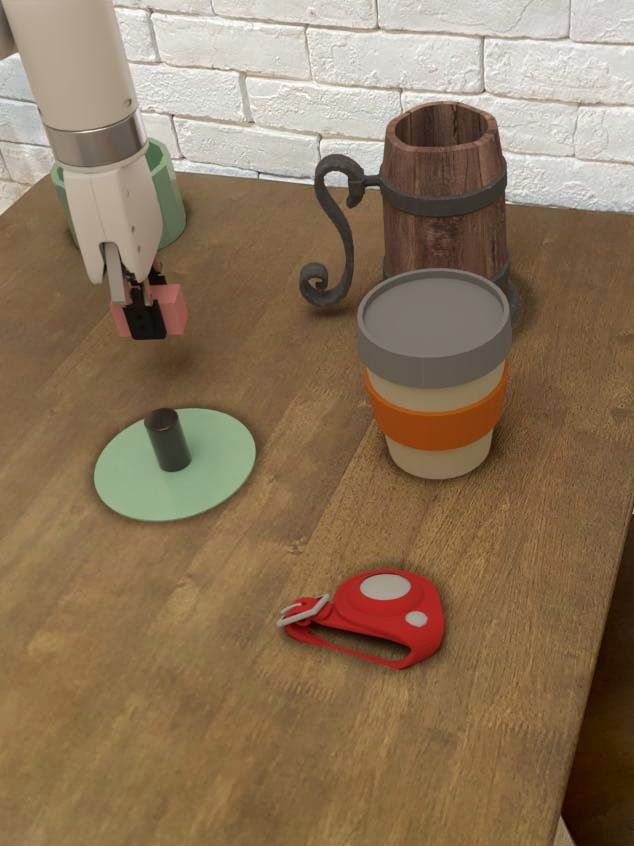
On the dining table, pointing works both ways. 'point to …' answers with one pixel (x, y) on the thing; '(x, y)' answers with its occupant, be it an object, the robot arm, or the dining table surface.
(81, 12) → the robot arm
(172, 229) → the pot
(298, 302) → the dining table surface
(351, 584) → the tracker holder
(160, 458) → the lid
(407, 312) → the reusable coffee cup
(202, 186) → the dining table surface
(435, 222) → the tankard
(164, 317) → the eraser
